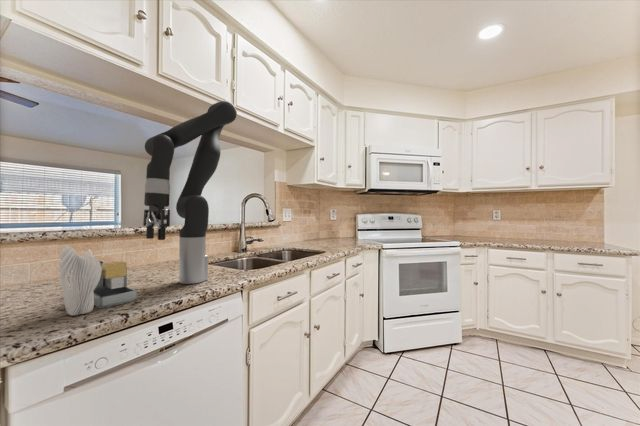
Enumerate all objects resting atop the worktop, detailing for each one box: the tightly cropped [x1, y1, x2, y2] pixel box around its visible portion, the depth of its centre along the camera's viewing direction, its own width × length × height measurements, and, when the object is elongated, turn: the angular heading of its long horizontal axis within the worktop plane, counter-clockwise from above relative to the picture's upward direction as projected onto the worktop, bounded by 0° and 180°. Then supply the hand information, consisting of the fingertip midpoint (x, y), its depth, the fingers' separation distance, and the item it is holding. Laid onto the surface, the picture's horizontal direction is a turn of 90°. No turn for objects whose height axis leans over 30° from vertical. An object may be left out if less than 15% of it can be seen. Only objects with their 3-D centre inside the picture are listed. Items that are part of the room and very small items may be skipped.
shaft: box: [98, 260, 124, 289], centre depth 87 cm, size 3×21×8 cm, turn 54°
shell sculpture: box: [58, 245, 102, 317], centre depth 73 cm, size 8×8×18 cm
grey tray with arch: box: [93, 266, 138, 310], centre depth 84 cm, size 9×14×9 cm, turn 54°
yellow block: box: [101, 260, 127, 279], centre depth 82 cm, size 5×4×4 cm
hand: (155, 239), depth 96 cm, fingers open, 8 cm apart
